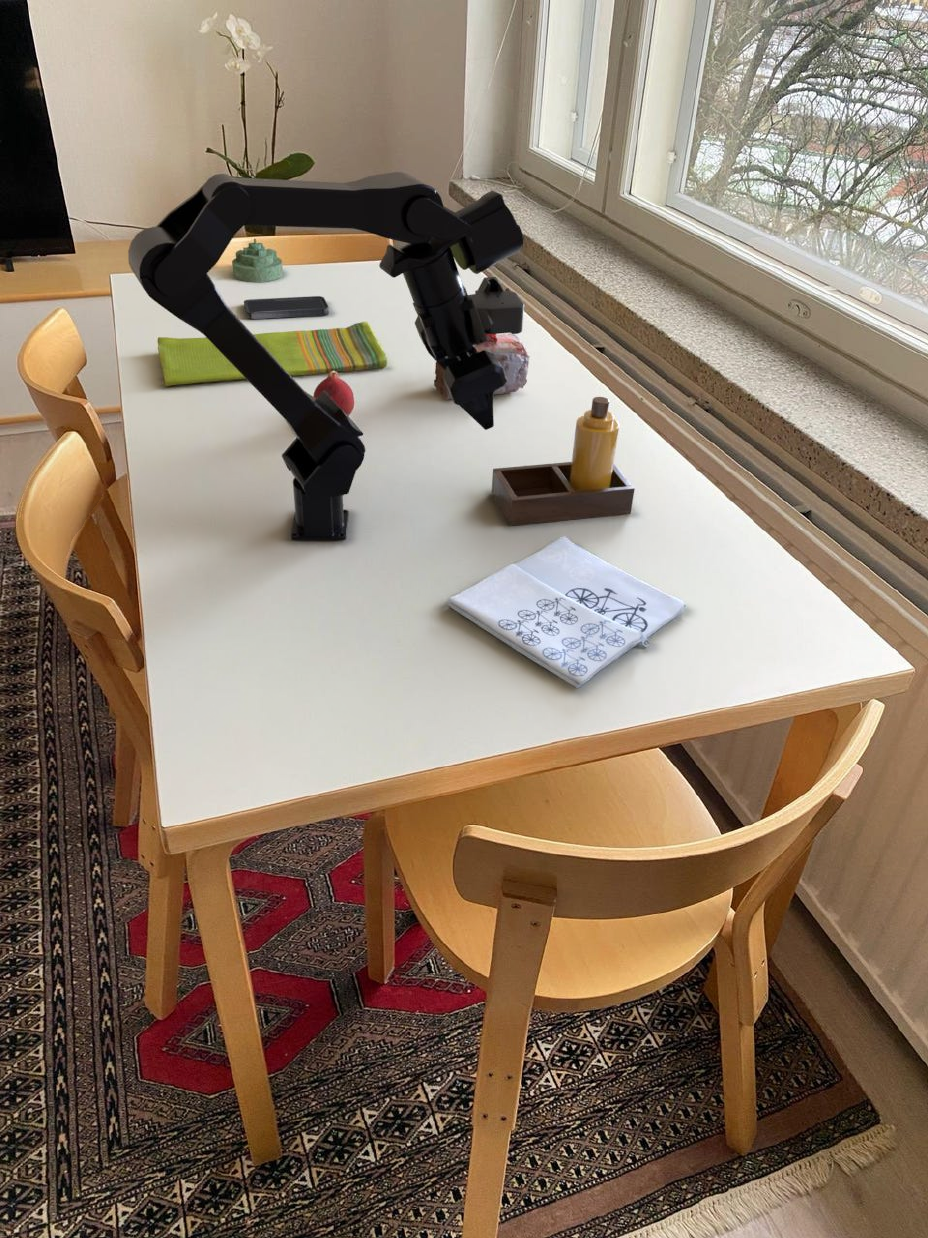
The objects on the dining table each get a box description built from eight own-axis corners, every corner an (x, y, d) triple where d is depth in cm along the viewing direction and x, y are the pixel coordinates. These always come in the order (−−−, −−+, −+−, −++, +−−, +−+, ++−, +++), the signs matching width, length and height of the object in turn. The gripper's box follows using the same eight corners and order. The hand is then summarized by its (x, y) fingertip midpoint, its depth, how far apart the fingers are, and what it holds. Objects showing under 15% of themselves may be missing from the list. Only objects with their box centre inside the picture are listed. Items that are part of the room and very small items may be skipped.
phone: (329, 308, 172) (247, 313, 168) (329, 314, 172) (247, 319, 169) (322, 295, 178) (243, 299, 174) (323, 301, 178) (243, 305, 175)
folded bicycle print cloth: (441, 608, 100) (442, 591, 98) (564, 542, 111) (565, 527, 110) (578, 696, 89) (580, 678, 88) (697, 613, 101) (701, 596, 99)
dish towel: (390, 369, 153) (390, 350, 151) (165, 389, 143) (162, 369, 141) (368, 337, 164) (367, 319, 162) (158, 353, 154) (155, 334, 152)
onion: (347, 435, 132) (345, 381, 127) (309, 430, 133) (305, 377, 128) (359, 418, 136) (358, 366, 132) (322, 414, 137) (319, 361, 132)
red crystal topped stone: (509, 377, 152) (514, 317, 146) (529, 396, 146) (534, 334, 140) (430, 385, 148) (432, 324, 142) (448, 405, 142) (450, 342, 136)
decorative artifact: (292, 276, 190) (267, 264, 196) (289, 240, 186) (264, 229, 192) (248, 284, 185) (224, 272, 191) (245, 248, 181) (220, 236, 187)
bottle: (605, 508, 117) (619, 411, 109) (564, 501, 118) (576, 405, 110) (610, 489, 121) (624, 394, 113) (571, 482, 122) (582, 388, 114)
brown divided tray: (491, 493, 120) (492, 468, 118) (605, 482, 124) (609, 458, 122) (510, 526, 114) (512, 500, 112) (630, 513, 118) (634, 488, 115)
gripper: (531, 296, 95) (565, 420, 106) (482, 234, 108) (517, 349, 119) (431, 340, 95) (475, 459, 106) (395, 272, 109) (437, 383, 119)
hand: (478, 409), depth 112 cm, fingers open, 9 cm apart
